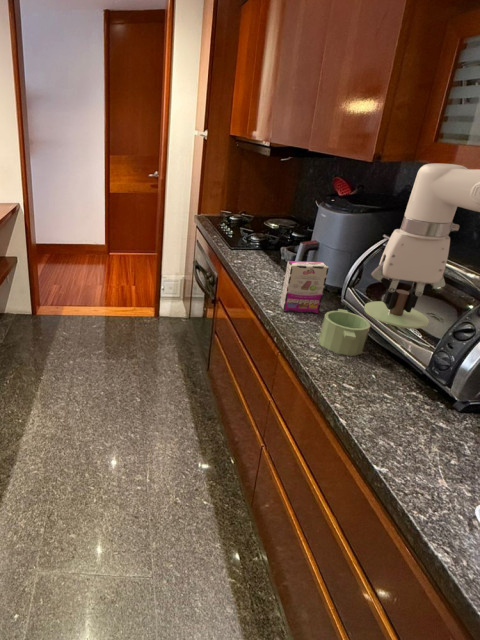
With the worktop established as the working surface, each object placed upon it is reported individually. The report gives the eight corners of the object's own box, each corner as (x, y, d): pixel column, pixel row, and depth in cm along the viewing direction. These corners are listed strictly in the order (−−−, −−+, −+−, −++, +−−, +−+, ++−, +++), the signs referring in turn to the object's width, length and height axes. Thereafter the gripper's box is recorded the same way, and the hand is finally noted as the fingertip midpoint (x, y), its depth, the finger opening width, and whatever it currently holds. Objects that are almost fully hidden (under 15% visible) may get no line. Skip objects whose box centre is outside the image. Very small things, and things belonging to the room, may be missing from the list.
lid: (418, 311, 88) (427, 286, 86) (435, 335, 79) (446, 308, 76) (359, 301, 93) (366, 277, 90) (368, 324, 83) (376, 298, 81)
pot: (357, 336, 114) (364, 310, 110) (367, 366, 100) (375, 338, 97) (316, 328, 118) (322, 304, 114) (320, 356, 104) (327, 329, 101)
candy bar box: (313, 306, 131) (324, 261, 125) (318, 313, 126) (330, 267, 120) (278, 304, 133) (287, 259, 127) (282, 311, 128) (292, 265, 122)
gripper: (467, 227, 78) (436, 307, 85) (373, 218, 84) (351, 294, 91) (484, 237, 72) (449, 323, 79) (380, 227, 78) (357, 308, 85)
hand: (397, 307), depth 85 cm, fingers closed on lid, 2 cm apart
